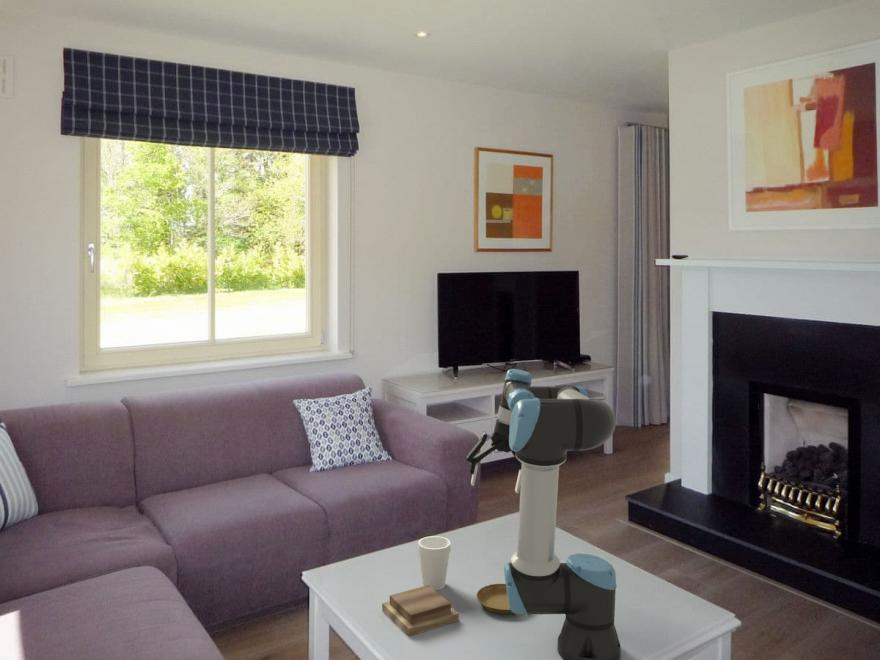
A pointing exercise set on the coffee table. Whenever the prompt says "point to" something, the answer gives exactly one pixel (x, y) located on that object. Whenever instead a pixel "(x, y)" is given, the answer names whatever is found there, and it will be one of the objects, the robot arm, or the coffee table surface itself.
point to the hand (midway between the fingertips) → (494, 487)
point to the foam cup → (434, 560)
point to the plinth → (421, 624)
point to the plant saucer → (494, 598)
